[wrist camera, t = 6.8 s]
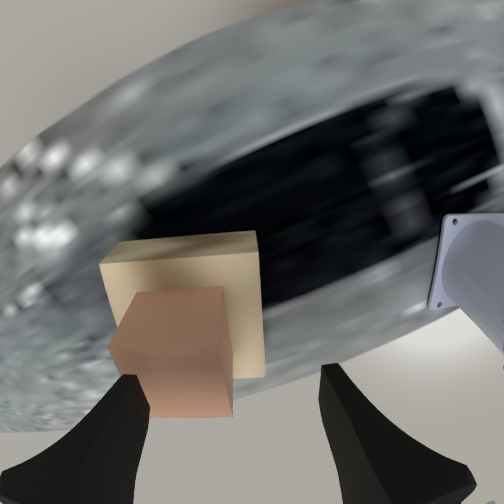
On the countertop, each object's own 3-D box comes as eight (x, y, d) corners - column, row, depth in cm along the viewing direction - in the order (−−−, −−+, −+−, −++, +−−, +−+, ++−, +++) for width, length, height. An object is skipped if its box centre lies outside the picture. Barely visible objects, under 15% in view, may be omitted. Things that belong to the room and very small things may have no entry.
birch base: (255, 230, 20) (258, 252, 17) (262, 344, 23) (265, 376, 20) (118, 241, 20) (98, 264, 16) (147, 349, 23) (137, 379, 20)
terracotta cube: (222, 285, 17) (217, 343, 13) (233, 354, 19) (232, 416, 15) (136, 292, 17) (107, 346, 13) (156, 358, 19) (140, 416, 14)
